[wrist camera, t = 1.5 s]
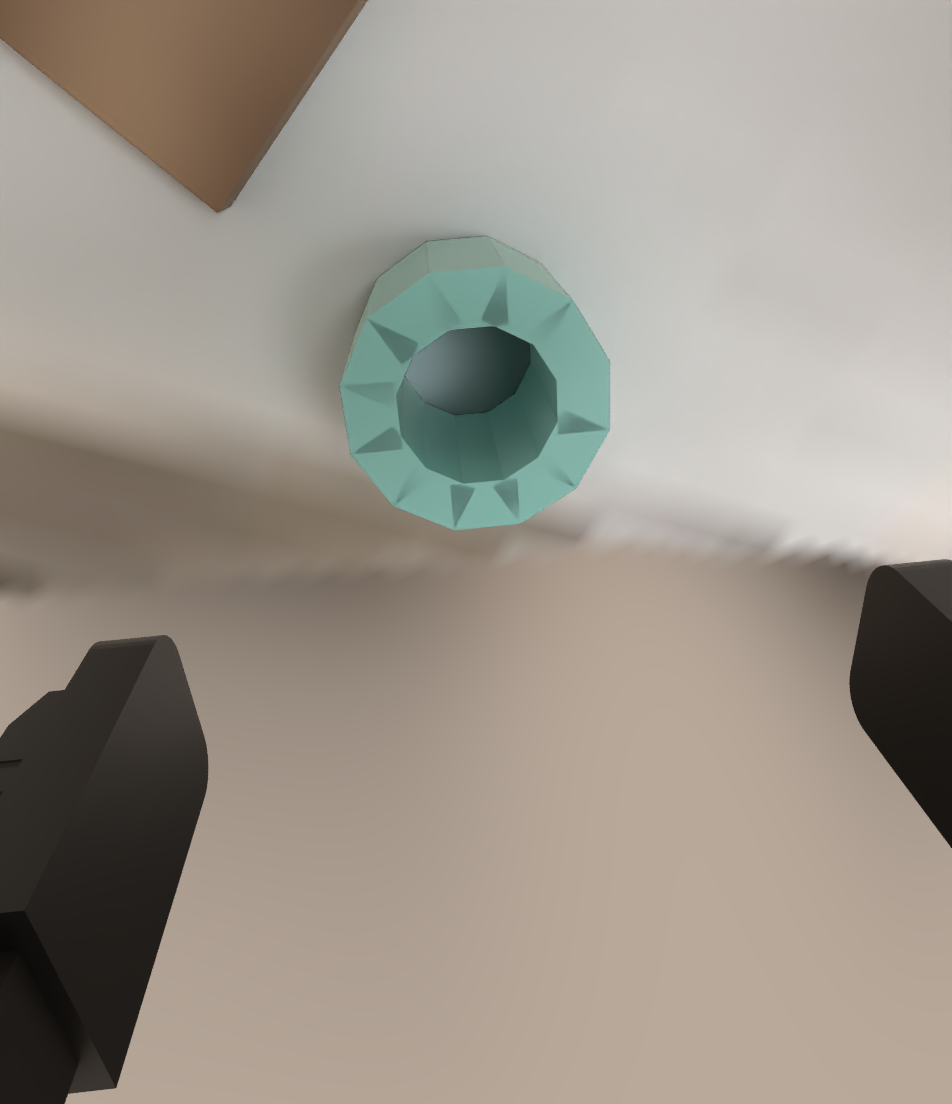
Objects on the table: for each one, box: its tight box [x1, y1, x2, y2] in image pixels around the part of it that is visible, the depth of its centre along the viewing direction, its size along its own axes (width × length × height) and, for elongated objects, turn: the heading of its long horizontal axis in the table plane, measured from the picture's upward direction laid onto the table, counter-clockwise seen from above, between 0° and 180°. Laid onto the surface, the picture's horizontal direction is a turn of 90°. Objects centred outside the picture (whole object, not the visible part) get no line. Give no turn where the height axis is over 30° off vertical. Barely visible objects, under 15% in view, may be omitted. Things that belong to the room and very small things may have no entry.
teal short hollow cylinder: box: [340, 236, 610, 530], centre depth 20 cm, size 6×6×5 cm
